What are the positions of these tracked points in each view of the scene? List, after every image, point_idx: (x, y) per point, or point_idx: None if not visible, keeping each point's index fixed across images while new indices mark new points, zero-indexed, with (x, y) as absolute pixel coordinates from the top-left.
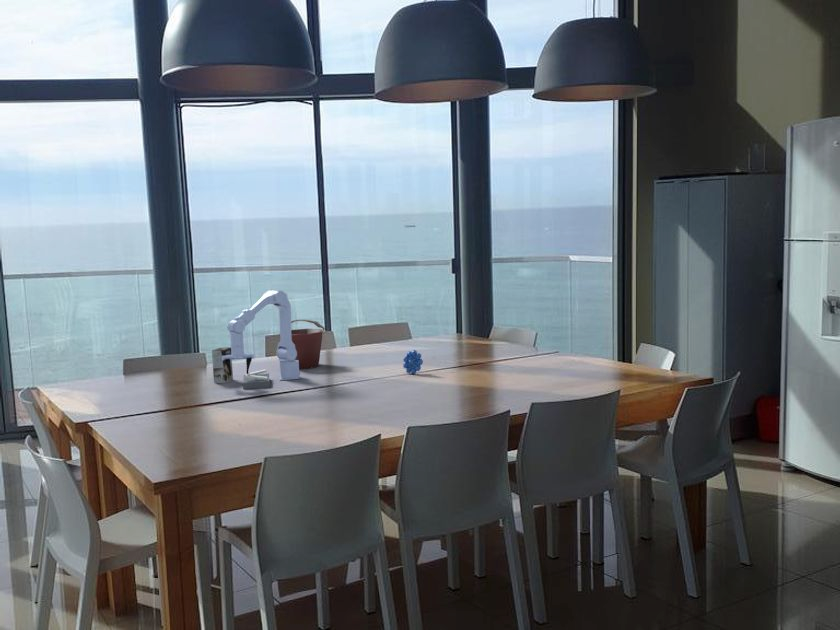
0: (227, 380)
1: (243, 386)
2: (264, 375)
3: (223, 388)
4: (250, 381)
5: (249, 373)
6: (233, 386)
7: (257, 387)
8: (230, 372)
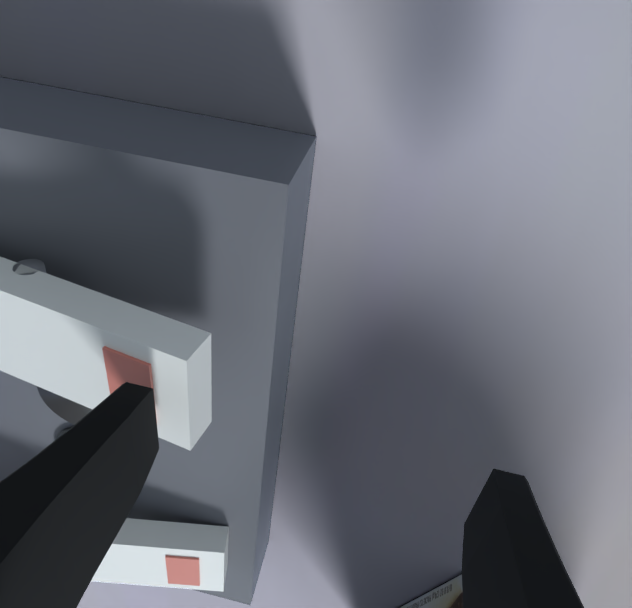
0: (431, 604)
1: (302, 154)
2: None
3: (596, 367)
4: (146, 237)
5: (171, 568)
6: (424, 403)
7: (73, 94)
8: (524, 532)
